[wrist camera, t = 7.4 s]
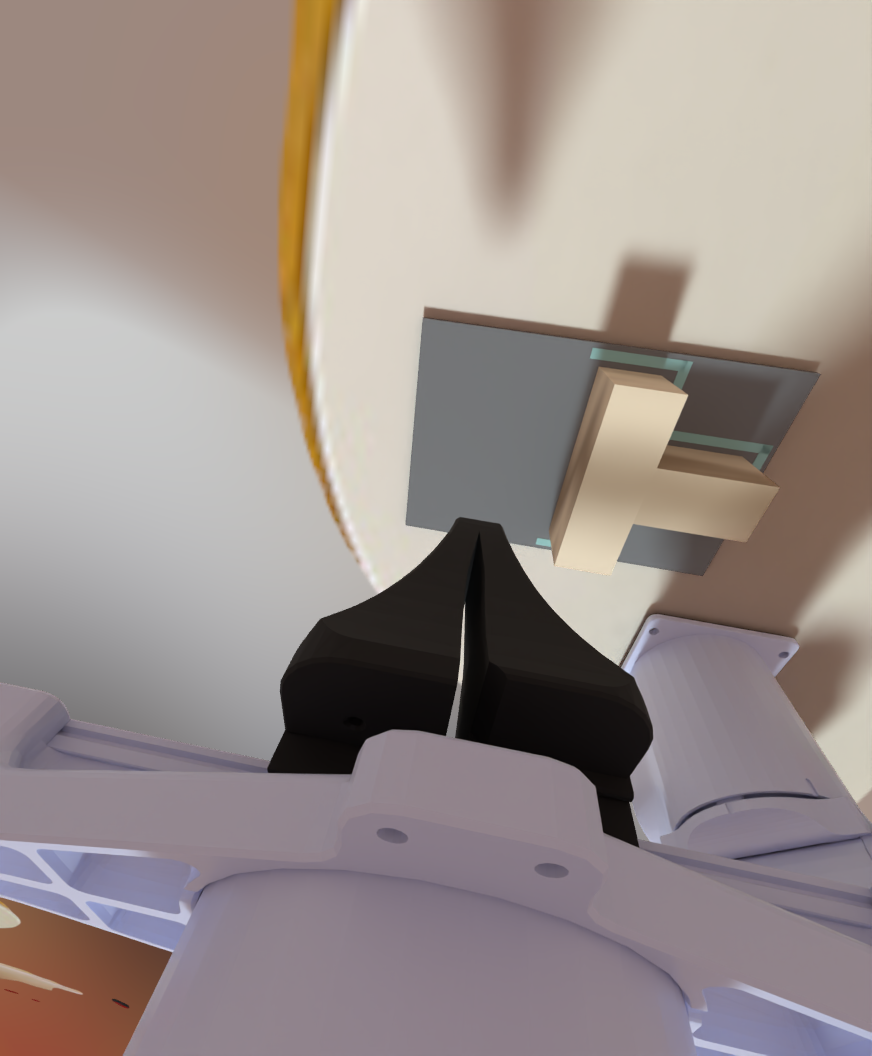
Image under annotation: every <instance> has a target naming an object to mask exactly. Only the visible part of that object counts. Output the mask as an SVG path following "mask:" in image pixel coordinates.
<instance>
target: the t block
mask: <svg viewBox="0 0 872 1056" xmlns="http://www.w3.org/2000/svg"><path fill="white" fill-rule="evenodd" d="M687 397H688V394H686V393H685V392H684V391H682V390H681V389H679V388H678V387H677V386H675V385H674V384H672V383H671V382H670V381H668V380H667V379H666V378H664V377H663V376H661V375H654V374H647V373H640V372H633V371H626V370H619V369H612V368H605V367H599V368H598V371H597V374H596V377H595V381H594V384H593V387H592V390H591V394H590V397H589V400H588V404H587V407H586V410H585V413H584V417H583V420H582V423H581V427H580V430H579V433H578V436H577V440H576V443H575V446H574V449H573V453H572V456H571V459H570V463H569V466H568V469H567V472H566V476H565V479H564V482H563V485H562V489H561V492H560V495H559V499H558V502H557V505H556V508H555V512H554V515H553V518H552V522H551V525H550V528H549V535H550V542H551V548H552V555H553V561H554V566H557V567H563V568H568V569H574V570H580V571H586V572H592V573H597V574H603V575H609V576H611V574H612V571H613V569H614V567H615V564H616V562H617V560H618V557H619V555H620V553H621V550H622V548H623V546H624V543H625V541H626V539H627V537H628V534H629V532H630V530H631V527H632V525H633V524H637V525H643V526H649V527H655V528H661V529H667V530H673V531H679V532H685V533H691V534H697V535H703V536H709V537H715V538H721V539H727V540H733V541H740V542H747V540H748V539H749V537H750V535H751V534H752V532H753V531H754V529H755V527H756V526H757V524H758V522H759V521H760V519H761V518H762V516H763V514H764V513H765V511H766V510H767V508H768V506H769V505H770V503H771V502H772V500H773V498H774V497H775V495H776V494H777V492H778V490H779V489H780V487H779V486H778V485H776V484H775V483H774V482H773V481H772V480H770V479H769V478H768V477H767V476H765V475H764V474H763V473H762V472H761V471H759V470H758V469H757V468H756V467H754V466H753V465H752V464H751V463H749V462H748V461H747V460H746V459H745V458H743V457H742V456H735V455H729V454H722V453H716V452H709V451H703V450H696V449H689V448H683V447H676V446H670V445H667V444H668V441H669V439H670V437H671V434H672V432H673V430H674V427H675V425H676V423H677V420H678V418H679V416H680V414H681V411H682V409H683V407H684V404H685V402H686V400H687Z"/></svg>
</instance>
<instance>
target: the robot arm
mask: <svg viewBox="0 0 872 1056" xmlns="http://www.w3.org/2000/svg"><path fill="white" fill-rule="evenodd" d="M464 604H465V635H464V669H463V680H462V689H461V697H460V705H459V712H458V721H457V728H456V736H455V738H452V737H447V736H446V733H447V728H448V724H449V719H450V715H451V710H452V705H453V701H454V696H455V691H456V687H457V681H458V674H459V665H460V653H461V634H462V620H463V608H464ZM652 628H656V629H654V630H650V629H652ZM798 649H799V644H798V643H797V642H796V640H795V639H793V638H790V637H785V636H779V635H773V634H768V633H762V632H757V631H751V630H745V629H740V628H734V627H728V626H723V625H717V624H711V623H706V622H700V621H695V620H689V619H683V618H678V617H672V616H666V615H661V614H654V615H651V616H649V617H648V618H647V619H646V621H645V623H644V625H643V627H642V629H641V631H640V633H639V635H638V636H637V638H636V640H635V642H634V644H633V646H632V648H631V650H630V652H629V653H628V655H627V657H626V659H625V661H624V663H623V665H622V667H621V668H620V667H619V666H618V665H616V664H615V663H613V662H612V661H611V660H609V659H608V658H606V657H605V656H603V655H602V654H601V653H600V652H598V651H597V650H596V649H595V648H593V647H592V646H591V645H590V644H589V643H587V642H586V641H585V640H584V639H582V638H581V637H580V636H579V635H578V634H577V633H576V632H575V631H574V630H572V629H571V628H570V627H569V626H568V625H567V624H566V623H565V622H564V621H563V620H562V619H561V618H560V617H559V616H558V615H557V614H556V613H555V611H554V610H553V609H552V608H551V607H550V606H549V605H548V604H547V602H546V601H545V600H544V599H543V597H542V596H541V595H540V594H539V592H538V591H537V590H536V588H535V587H534V585H533V584H532V582H531V581H530V579H529V578H528V576H527V575H526V573H525V572H524V570H523V568H522V567H521V565H520V563H519V561H518V559H517V558H516V556H515V554H514V552H513V550H512V548H511V546H510V544H509V542H508V539H507V537H506V535H505V532H504V529H503V527H502V526H501V524H499V523H493V522H487V521H481V520H476V519H470V518H464V517H459V518H457V519H456V520H455V522H454V524H453V526H452V527H451V529H450V531H449V532H448V533H447V535H446V536H445V537H444V539H443V540H442V541H441V542H440V543H439V544H438V546H437V547H436V548H435V549H434V550H433V551H432V552H431V553H430V554H429V555H428V556H427V557H426V558H425V559H424V560H423V561H422V562H421V563H420V564H419V565H418V566H417V567H416V568H415V569H413V570H412V571H411V572H410V573H409V574H407V575H406V576H405V577H403V578H402V579H401V580H399V581H398V582H396V583H395V584H393V585H392V586H390V587H389V588H388V589H386V590H384V591H383V592H381V593H379V594H378V595H376V596H374V597H372V598H370V599H368V600H366V601H364V602H362V603H360V604H358V605H356V606H353V607H351V608H349V609H346V610H343V611H341V612H338V613H335V614H332V615H330V616H327V617H324V618H321V619H320V620H319V621H318V622H317V624H316V625H315V626H314V628H313V629H312V630H311V631H310V632H309V634H308V635H307V637H306V638H305V639H304V641H303V642H302V643H301V645H300V646H299V648H298V649H297V651H296V653H295V654H294V656H293V658H292V660H291V662H290V664H289V666H288V668H287V670H286V672H285V674H284V675H283V678H282V679H281V684H280V695H281V702H282V709H283V716H284V723H285V729H286V730H285V732H284V734H283V736H282V738H281V740H280V742H279V744H278V746H277V749H276V751H275V753H274V755H273V757H272V759H271V761H267V760H262V759H258V758H253V757H248V756H244V755H239V754H234V753H229V752H225V751H220V750H215V749H210V748H205V747H200V746H196V745H192V744H187V743H182V742H178V741H172V740H168V739H163V738H159V737H154V736H149V735H145V734H140V733H135V732H130V731H126V730H121V729H116V728H111V727H107V726H102V725H97V724H93V723H88V722H83V721H78V720H74V719H70V715H69V713H68V710H67V708H66V706H65V705H64V703H63V702H62V701H61V700H60V699H58V698H57V697H56V696H54V695H52V694H50V693H47V692H44V691H40V690H35V689H30V688H25V687H21V686H16V685H11V684H6V683H0V897H2V898H6V899H9V900H13V901H16V902H19V903H22V904H26V905H29V906H32V907H35V908H38V909H42V910H45V911H48V912H51V913H54V914H57V915H60V916H64V917H67V918H70V919H73V920H76V921H79V922H82V923H85V924H88V925H91V926H94V927H97V928H100V929H103V930H107V931H110V932H112V933H116V934H119V935H122V936H125V937H128V938H131V939H134V940H137V941H140V942H143V943H146V944H149V945H152V946H155V947H158V948H161V949H165V950H168V951H171V952H173V953H172V956H171V958H170V960H169V962H168V964H167V966H166V968H165V970H164V972H163V974H162V976H161V978H160V981H159V983H158V984H157V986H156V988H155V991H154V993H153V995H152V997H151V999H150V1001H149V1003H148V1005H147V1007H146V1009H145V1012H144V1013H143V1015H142V1017H141V1019H140V1021H139V1024H138V1025H137V1028H136V1030H135V1032H134V1034H133V1036H132V1038H131V1040H130V1042H129V1044H128V1046H127V1048H126V1050H125V1053H124V1054H123V1056H872V823H871V822H870V821H869V820H868V819H867V818H866V816H865V815H864V814H863V813H862V812H861V810H860V809H859V807H858V805H857V804H856V802H855V801H854V799H853V798H852V796H851V795H850V793H849V792H848V790H847V788H846V787H845V785H844V784H843V782H842V781H841V779H840V778H839V776H838V775H837V773H836V771H835V770H834V768H833V767H832V765H831V764H830V762H829V761H828V759H827V758H826V756H825V754H824V753H823V751H822V750H821V748H820V747H819V745H818V744H817V742H816V741H815V739H814V737H813V736H812V734H811V733H810V731H809V730H808V728H807V727H806V725H805V724H804V722H803V720H802V719H801V717H800V716H799V714H798V713H797V711H796V710H795V708H794V707H793V705H792V703H791V702H790V700H789V699H788V697H787V696H786V694H785V693H784V691H783V690H782V688H781V686H780V685H779V683H778V682H777V680H776V679H775V676H776V675H777V674H778V673H779V672H780V671H781V669H782V668H783V667H784V666H785V665H786V663H787V662H788V661H789V660H790V659H791V658H792V656H793V655H794V654H795V653H796V652H797V650H798ZM629 802H632V803H633V807H634V811H635V814H636V817H637V819H638V822H639V824H640V826H641V828H642V830H643V831H644V833H645V835H646V836H647V837H648V839H649V841H645V840H640V839H637V835H636V830H635V826H634V821H633V817H632V813H631V808H630V804H629Z"/></svg>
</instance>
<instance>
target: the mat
mask: <svg viewBox="0 0 872 1056" xmlns="http://www.w3.org/2000/svg"><path fill="white" fill-rule="evenodd" d="M599 367H605V368H612V369H619V370H626V371H633V372H640V373H647V374H654V375H661V376H663V377H664V378H666V379H667V380H668V381H670V382H671V383H672V384H674V385H675V386H677V387H678V388H679V389H681V390H682V391H684V392H685V393H686V394H688V397H687V400H686V402H685V404H684V407H683V409H682V411H681V414H680V416H679V418H678V420H677V423H676V425H675V427H674V430H673V432H672V434H671V437H670V439H669V441H668V444H667V445H670V446H676V447H683V448H689V449H696V450H703V451H709V452H716V453H722V454H729V455H735V456H742V457H743V458H745V459H746V460H747V461H748V462H749V463H751V464H752V465H753V466H754V467H756V468H757V469H758V470H759V471H761V472H762V473H763V472H764V470H765V469H766V467H767V465H768V463H769V462H770V460H771V458H772V457H773V455H774V453H775V451H776V450H777V448H778V446H779V445H780V443H781V441H782V439H783V438H784V436H785V434H786V433H787V431H788V429H789V427H790V426H791V424H792V422H793V421H794V419H795V417H796V416H797V414H798V412H799V410H800V409H801V407H802V405H803V404H804V402H805V400H806V398H807V397H808V395H809V393H810V392H811V390H812V388H813V386H814V385H815V383H816V381H817V380H818V378H819V376H820V374H819V373H816V372H810V371H802V370H795V369H788V368H781V367H774V366H767V365H760V364H753V363H745V362H738V361H731V360H724V359H717V358H710V357H703V356H695V355H688V354H681V353H674V352H667V351H660V350H653V349H646V348H638V347H631V346H624V345H617V344H610V343H603V342H596V341H588V340H581V339H574V338H567V337H560V336H553V335H546V334H539V333H531V332H524V331H517V330H510V329H503V328H496V327H489V326H481V325H474V324H467V323H460V322H453V321H446V320H439V319H432V318H423V323H422V335H421V347H420V359H419V371H418V382H417V394H416V406H415V418H414V430H413V442H412V454H411V466H410V478H409V490H408V502H407V514H406V525H408V526H414V527H419V528H425V529H431V530H437V531H443V532H449V531H450V529H451V527H452V526H453V524H454V522H455V520H456V519H457V518H459V517H464V518H470V519H476V520H481V521H487V522H493V523H499V524H501V526H502V527H503V529H504V532H505V535H506V537H507V539H508V542H509V543H513V544H519V545H525V546H530V547H536V548H542V549H548V550H552V548H551V542H550V535H549V528H550V525H551V522H552V518H553V515H554V512H555V508H556V505H557V502H558V499H559V495H560V492H561V489H562V485H563V482H564V479H565V476H566V472H567V469H568V466H569V463H570V459H571V456H572V453H573V449H574V446H575V443H576V440H577V436H578V433H579V430H580V427H581V423H582V420H583V417H584V413H585V410H586V407H587V404H588V400H589V397H590V394H591V390H592V387H593V384H594V381H595V377H596V374H597V371H598V368H599ZM723 540H724V539H721V538H715V537H709V536H703V535H697V534H691V533H685V532H679V531H673V530H667V529H661V528H655V527H649V526H643V525H637V524H633V525H632V527H631V530H630V532H629V534H628V537H627V539H626V541H625V543H624V546H623V548H622V550H621V553H620V555H619V557H618V560H617V561H618V562H624V563H630V564H636V565H641V566H647V567H653V568H659V569H665V570H671V571H677V572H682V573H688V574H694V575H700V576H703V575H704V573H705V571H706V569H707V568H708V566H709V564H710V563H711V561H712V559H713V558H714V556H715V554H716V552H717V551H718V549H719V547H720V546H721V544H722V542H723Z"/></svg>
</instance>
